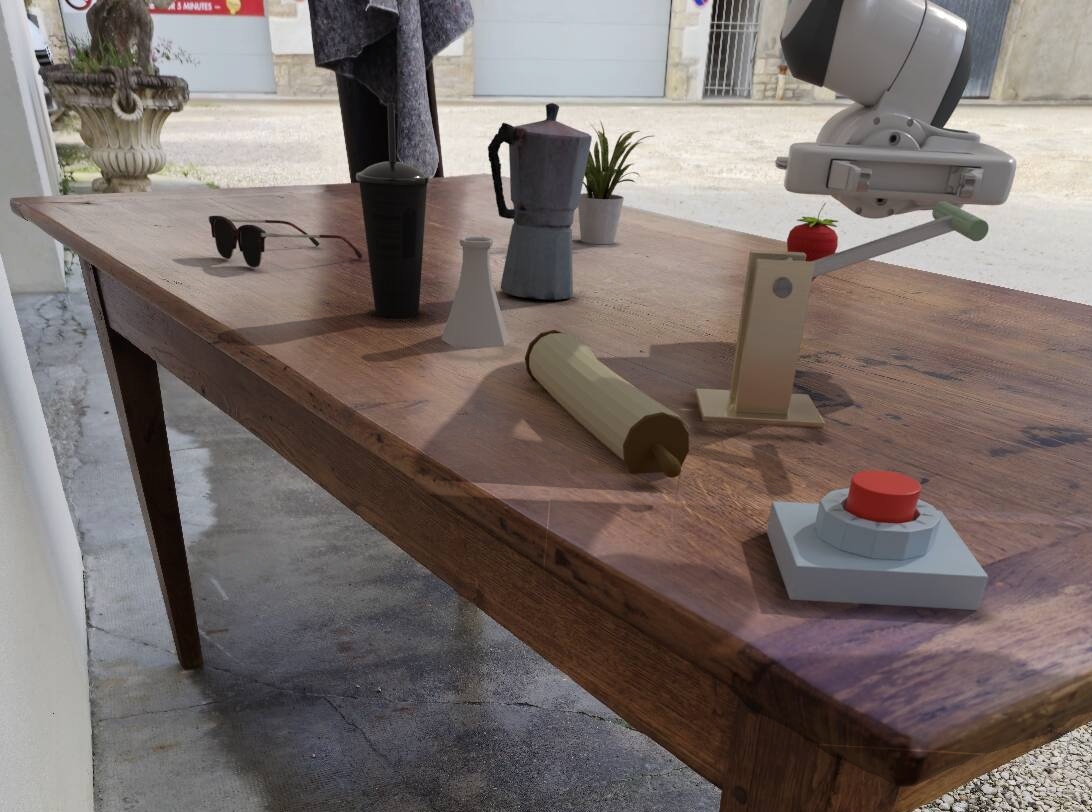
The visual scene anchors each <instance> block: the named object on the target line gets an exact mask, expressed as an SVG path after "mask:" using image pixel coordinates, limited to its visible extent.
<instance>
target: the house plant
mask: <svg viewBox="0 0 1092 812" xmlns="http://www.w3.org/2000/svg"><path fill="white" fill-rule="evenodd" d="M588 122H589V124H590V125H591V127H592V128H593V129H594V131H595V133H596V135H597V137H598V140H596V141H595V143H594V147H593V154H592V152H591V149H590V150H589V155H588V160H587V165H586V170H585V175H584V178H585V179H586V182H585V181H583V185H584V187H585V190H586V192H585V193H581V195H580V200H579V205H578V207H577V209H578V210H577V211H578V221H579V235H580V241H581V242H582V243H584V244H591V245H611V244H612V245H613V244H615V239H616V236H617V232H618V227H619V221H620V218H621V213H622V209H623V204H624V198H625V197H624V196H622V195H619V194H614V193H613V192H614V190H615V188H616V187H617V185H618V184H620V183H622V182H632V183H635V184H637V182H636V181H635V180H634V179H632V178H631V179H630V178H626V179H623V178H624V177H625V176H627V175H630V174H636V175H638V176H639V178H640V179H642V178H641V176H640V174H639V173H638V172H635V171H633V172H628V173H625V172H626V171H627V170H628V169H629V168H630V166H633V165H636V164H637V163H628V164H626V165H624V163H625V162H626V160H627V158H628V157H629V155H630V153H632V151H633V150H634V149H635V148H636V147H637V146H638V145H639V144H644V141H643V142H642V140H644V139H647V138H651V137H652V138H653V137H654V135H647V136H644V137H642V138H640V139H638V140H637V141H636V142H635V143H633V144H632V141H630V142H628V141H629V140H630V139H632V137H633V136H634V134H636V133H640V130H634V131H631V130H628V131H625V132H623V133H622V134H621V135H620V136H619V137H618V139H617V141H616V143H615V146H614V149H613V153H612V155H611V158H610V160H609V151H610V150H609V141H608V138H607V136H606V135H605V128H604V125H603V123H602V121H601V120H599V122H600V125H601V128H602V131H600V130H597V129H596V128H595V127H594V125H592V123H591V122H590V121H588ZM626 133H627V134H626ZM623 135H625V136H623ZM640 141H641V142H640ZM627 142H628V143H627ZM630 145H631V146H630ZM599 146H600V148H599ZM629 146H630V147H629ZM628 147H629V148H628ZM627 148H628V149H627ZM593 156H594V157H593ZM622 156H623V157H622ZM600 157H601V158H600ZM621 157H622V159H621ZM620 159H621V160H620ZM619 160H620V162H619ZM618 162H619V164H618ZM617 164H618V166H617ZM623 165H624V166H623Z"/></svg>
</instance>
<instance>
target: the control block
mask: <svg viewBox="0 0 1092 812" xmlns="http://www.w3.org/2000/svg"><path fill="white" fill-rule="evenodd" d="M849 489H850V487H846V488H840V489H835V490H830V491H829V492H828V493H827V494H825V495H824V496H822V497H821V498H820V500H819V503H813V502H812V503H811V502H810V503H809V502H795V501H793V502H792V501H777V500H776V501H775V500H773V501H772V502H771V505H770V510H769V516H768V522H767V528H766V535H767V537H768V540H769V543H770V546H771V549H772V551H773V552H772V553H773V555H774V558H775V561H776V563H777V566H778V569H779V572H780V576H781V579H782V581H783V583H784V587H785V589H786V592H787V595H788V598H789V600H791V601H806V602H807V601H809V602H825V603H828V602H829V603H844V604H858V605H859V604H861V605H879V606H895V607H911V608H928V609H929V608H930V609H948V610H966V611H978V610H979V608H980V604H981V602H982V598H983V596H984V592H985V589H986V585H987V583H988V580H989V575H988V574H987V572H986V571H985V569H983V567H982V566H981V564H980V563H979V561H978V560H977V559H976V558H975V556H974V554H973V553H972V552H971V551H970V549H969V548H968V546H967V544H966V543H965V542H964V540H963V539H962V538H961V536H960V535H959V534H958V532H957V531H956V529H955V528H954V527H953V525H952V524H951V522H950V521H949V519H948V518H947V517H946V516H945V515H944V513H943V511H942V510H938V509H936V508H935V506H933V505H932V504H930V503H928V502H926V501H924V500H922V499H919V498H918V502H917V506H916V510H915V513H914V517H913V520H912V521H911V522H906V523H901V524H896V523H878V522H873V521H869V520H865V519H861V518H858V517H856V516H855V515H853V514H851V513H849V512H847V511H845V507H846V502H847V498H848V493H849Z"/></svg>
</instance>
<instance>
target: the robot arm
mask: <svg viewBox="0 0 1092 812" xmlns="http://www.w3.org/2000/svg"><path fill="white" fill-rule="evenodd" d="M779 41H780V47H781V51H782V54H783V57H784V60H785V63H786V66H787V67H788V70H789V72H790V74H791V76H792V78H794V79H797V80H798V81H802V82H804V83H807V84H811V85H813V86H816V87H819V88H825V89H827V90H830V91H831V92H834V93H836V94H838V95H840V96H842V97H844V98H846V99H848V100H850V101H852V102H853V103H852V104H851V105H849V106H848V107H845V108H843V109H842V110H840V111H838V112H836V113H834V114H833V115H832V116H831V117H830V118H829V119H828V120H826V121H825V123H824V125H822V127H821V129H819V133H818V135H817V137H816V140H815V142H814V141H813V142H811V141H810V142H794V143H792V144H791V145H790V146H789V148H788V154H787V156H777V157H776V159H775V160H774V164H775V167H776V169H779V170H784V171H785V173H784V179H783V187H784V189H785V190H786V192H789V193H794V194H800V195H815V196H816V195H817V196H830V197H832V198H833V199H835V200H836V201H838V202H839V203H840V204H841V205H843V206H844V207H846V208H847V209H848V210H850V211H851V212H852V213H854V214H856V215H857V216H859V217H862V218H865V219H871V220H872V219H873V220H875V219H877V220H879V219H885V218H888V217H892V216H893V215H894V216H897V215H898V216H899V215H904V214H908V213H912V212H913V213H914V212H917V211H933V208H934V206H935V205H936V204H937V203H939V202H941V201H946V202H948V203H950V204H952V205H954V206H956V207H958V208H960V209H962V208H963V207H964V206H965V205H974V206H975V205H976V206H1002V205H1004V204H1005V203H1006V202H1007V200H1008V198H1009V196H1010V193H1011V190H1012V187H1013V183H1014V180H1015V176H1016V171H1017V160H1016V158H1015V156H1013V155H1011V154H1010V153H1007V152H1006V151H1004V150H1002V149H1000V148H997V147H995V146H993V145H990V144H987V143H983V142H981V135H980V134H979V133H976V132H972V131H967V130H961V129H954V128H946V127H945V126H946V124H947V123H948V121H949V120H950V118H952V115H953V114H954V112H955V111H956V108H957V107H958V104H959V103H960V100H961V98H962V97H963V95H964V92H965V91H966V87H967V86H968V83H969V80H970V76H971V73H972V68H973V41H972V34H971V28H970V25H969V24H968V21H967V20H966V19H965V18H962V17H960V16H959V15H957V14H955V13H953V12H952V11H949V10H948V9H946V8H944V7H942V6H940V5H938V4H936V3H935V2H932V1H931V0H791V2H790V4H789V6H788V9H787V11H786V13H785V17H784V20H783V24H782V27H781V30H780V34H779Z"/></svg>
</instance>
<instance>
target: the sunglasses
mask: <svg viewBox="0 0 1092 812" xmlns="http://www.w3.org/2000/svg"><path fill="white" fill-rule="evenodd" d="M207 219H208V223H209V224H210V230H211V231H210V232H211V238H213V239H214V240H215V241H214V242H215V246H216V250H217V253H218V255H219V256H221V257H222V258H223V259H225V260H230V259H232V258H233V255H234V251H235V250H236V249H237V246H238V248H239V252H241V253H242V256H243V259H244V262H245V264H246V265H247V266H248V267H250V268H253V269H256V268H259V267H260V266H261V263H262V257H263V253H265V250H266V249H265V247H266V246H265V242H266V241H265V239H266V238H300V239H301V238H303V239H305V238H307V239H309V241H310V242H312V244H313V245H314V246H315V247H319V245H320V244H321V243H320V242H319V241H318V240H317V239H338V240H342V241H344V242H345V243H346V244H347V245H348V246H349V247H350V248H351V249H352V250H353V252H354V253H355V255H356V257H357V258H358V259H359V260H361V259H362V258H363V254H362V253H361V251H360V250H359V249H358V248H357V247H356V246H354V244H353V243H351V242H350V240H348V239H347V237H344V236H342V235H337V234H309V233H307V232H306V231H304V230H303V229H302V228H300V227H299V226H298V225H296V224H295V223H292V222H290V221H286V220H279V219H278V220H277V219H247V218H246V219H243V218H241V219H240V218H227V217H226V216H224V215H210V216H208V218H207ZM234 223H254V224H243V225H240V226H239V227H236V225H235V224H234ZM255 223H257V224H283V225H288V226H290V227H292V228H294V229H295V230H297V231H298V232H300V233H301V234H296V233H295V234H294V233H278V232H267V231H266V230H264V229H263V228H261V227H260V226H258V225H255Z"/></svg>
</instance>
